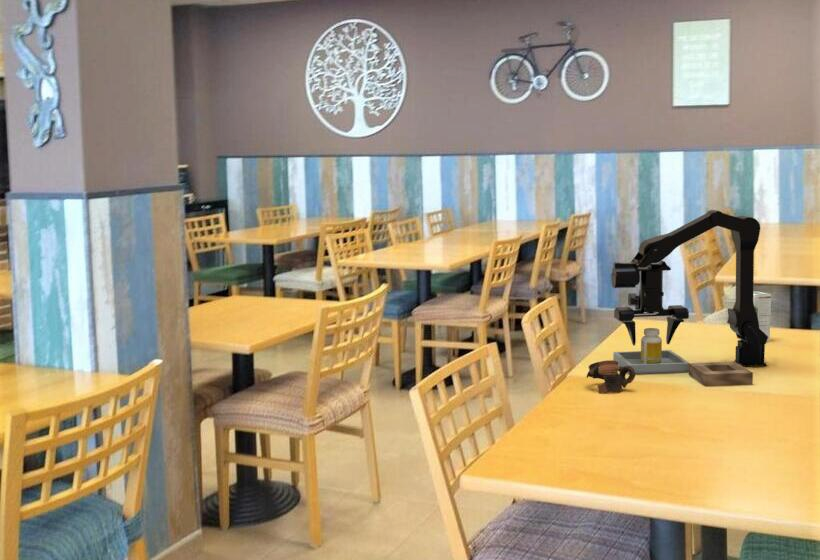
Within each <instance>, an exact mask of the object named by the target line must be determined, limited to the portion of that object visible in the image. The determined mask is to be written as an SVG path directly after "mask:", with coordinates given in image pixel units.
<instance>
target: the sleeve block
mask: <svg viewBox="0 0 820 560" xmlns="http://www.w3.org/2000/svg"><path fill="white" fill-rule="evenodd" d="M688 376H690V377H691V378H693V379H694V380H696V382H698V383H700V384H701V385H702V386H704V387H721V386H743V385H744V386H749V385H754V384H753V379H754V372H752V371H751V370H749V368H746V367H745V366H742V365H740V364H739V363H737V362H735V361H718V362H717V361H715V362H714V361H711V362H689V373H688Z"/></svg>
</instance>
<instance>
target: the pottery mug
mask: <svg viewBox="0 0 820 560" xmlns="http://www.w3.org/2000/svg"><path fill="white" fill-rule="evenodd" d="M588 369H589V371H588V372H587V373H586V378H587V379H588V378H592V379H594V380H595V379H599V380H604V382H602V383H600V384H597V389H598V393H599V394H605V393H622V388H623V389H625V388H626V387H627V386H628V385H629V384H631V383H633V381H634V379H635V378H636V376H637V375H636V373H635V372H634V369H633V368H632V367H631V366H624V367H620V366H619V365H618V362H617V361H613V359H609V360H601V361H596V362H593V363H591V364H589V365H588ZM627 372H630V375H629V374H628V373H627ZM627 374H628V377H627V378H626V375H627Z"/></svg>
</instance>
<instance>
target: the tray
mask: <svg viewBox="0 0 820 560" xmlns="http://www.w3.org/2000/svg"><path fill="white" fill-rule="evenodd" d="M612 353H613V356H612V357H613V359H612V360H613V361H617V362H618V366H620V367H624V366H631V367H632V368H633V369H634V372H635V373H636V375H635V376H637V375H659V374H660V375H661V374H662V375H663V374H689V363H690V362H689V361H687V360H686V359H684V358H683V357H681V356H680V355H679V354H677V353H675V352H674V351H673V350H671V349H665V350H664V349H662V351H661V363H658V364H641V350H640V351H639V350H637V351H635V350H633V351H632V350H631V351H613V352H612ZM626 374H628V376H629V375H630V372H627V373H626Z"/></svg>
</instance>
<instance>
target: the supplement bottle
mask: <svg viewBox="0 0 820 560" xmlns="http://www.w3.org/2000/svg"><path fill="white" fill-rule="evenodd" d="M643 334H644V336H642V337H641V338H640V351H641V364H658V363H661V351H662V350H663V349H662V348H663V347H662V346H663V345H662V343H663V342H662V341H663V340H662V338H661V337H660V336H659V335H660V329H659V328H657V327H647V328H644V329H643Z"/></svg>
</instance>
